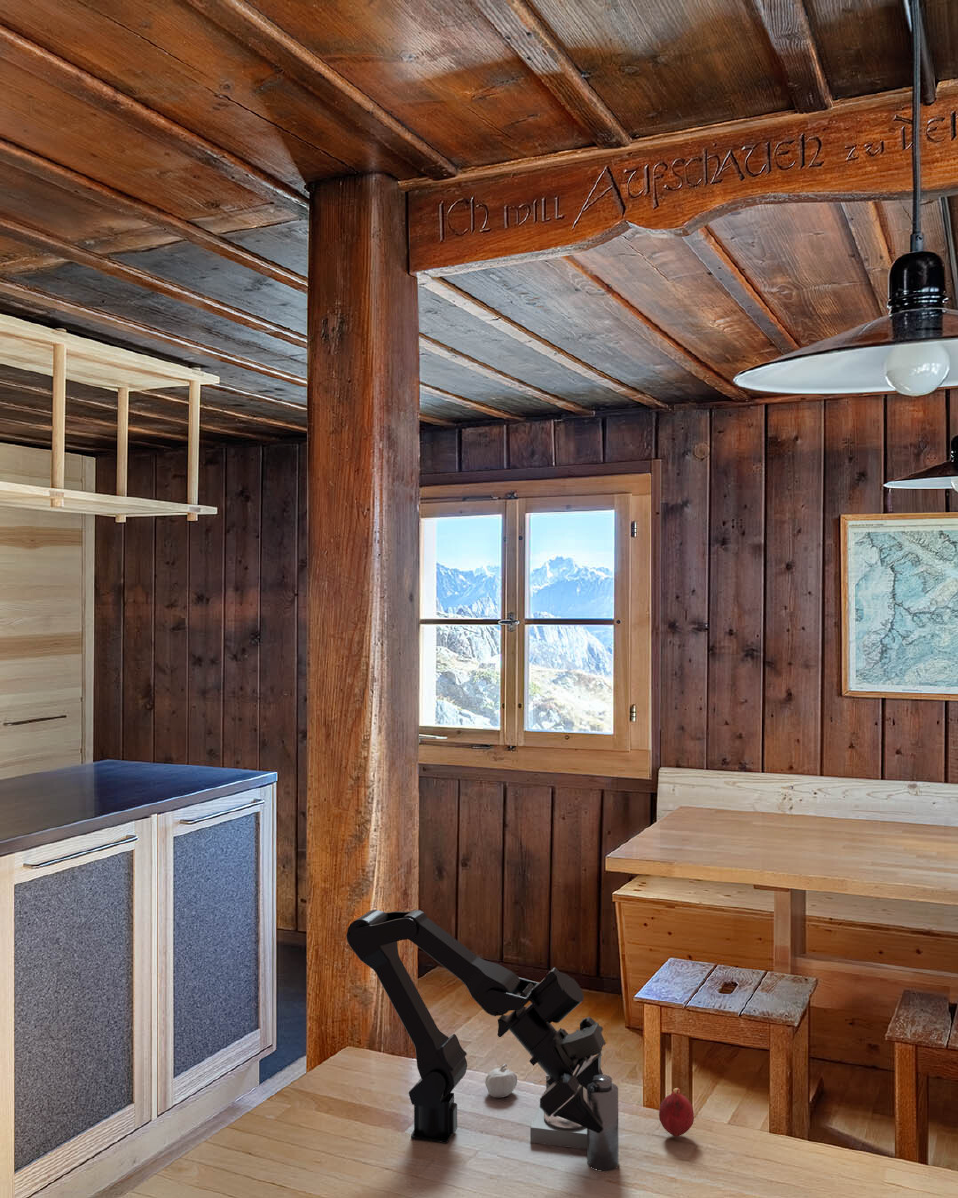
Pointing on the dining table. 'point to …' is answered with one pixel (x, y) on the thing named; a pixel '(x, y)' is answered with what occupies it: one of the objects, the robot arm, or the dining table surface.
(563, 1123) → the scale pan
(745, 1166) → the dining table surface
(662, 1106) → the onion
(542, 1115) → the scale
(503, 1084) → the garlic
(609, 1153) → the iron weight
